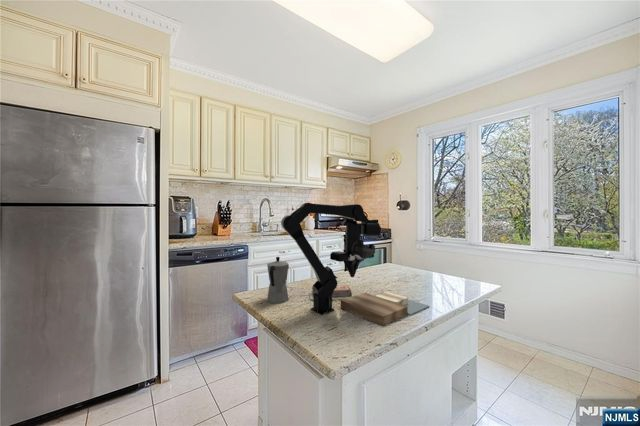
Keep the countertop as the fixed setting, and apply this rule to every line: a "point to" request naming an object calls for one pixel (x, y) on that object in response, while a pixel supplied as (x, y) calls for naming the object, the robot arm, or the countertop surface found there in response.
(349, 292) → the packaged product
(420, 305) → the mat
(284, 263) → the coffeepot
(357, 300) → the block
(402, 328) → the countertop surface
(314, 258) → the robot arm
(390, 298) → the cream flat block
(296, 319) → the countertop surface
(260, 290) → the countertop surface
